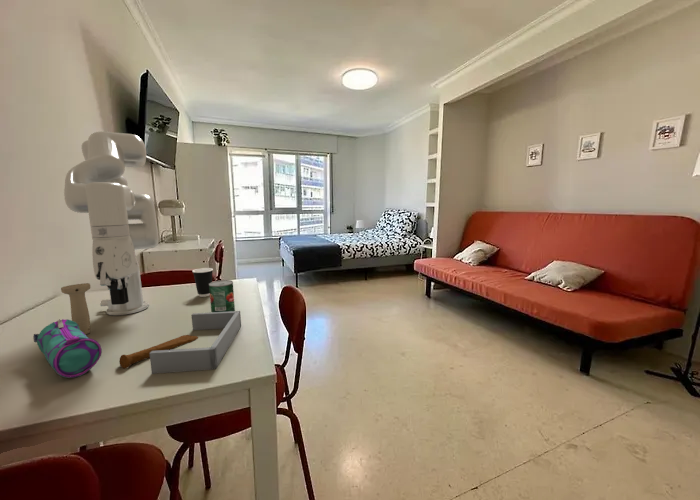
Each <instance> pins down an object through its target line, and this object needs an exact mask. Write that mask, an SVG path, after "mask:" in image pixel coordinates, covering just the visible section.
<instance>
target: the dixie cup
mask: <svg viewBox="0 0 700 500" xmlns="http://www.w3.org/2000/svg"><path fill="white" fill-rule="evenodd" d="M213 271H214V269H213V268H212V267H201V268H195V269H192V274H193V278H194V283H195V288H196V291H197V294H198V297H200V298H202V297H203V298H205V297H210V291H209V283H211V282H213Z"/></svg>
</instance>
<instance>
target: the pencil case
mask: <svg viewBox="0 0 700 500" xmlns="http://www.w3.org/2000/svg"><path fill="white" fill-rule="evenodd" d="M32 339H33V342H34V343H36V345H37V346H38V348H39V350H40V352H41V354H43V356H44V358H45V359H46V362H47V363H48V365H50V367H51V368H52V369H53V370H54V372H55V373H56V374H57V375H59V376H60V377H63V378H67V379H68V378H70V379H71V378H79V377H81V376H83V375H85V374H86V373H87V372H89V371H90V370H91V369H93V367H95V366H96V364H97V363H98V362H99V360H100V358H101V357H102V353H103V351H102V346H101V344H100V343H99V342H98V341H97V340H95V339H93V338H90V337H88V336H87V334H86V335H85V334H84V333H83V332H82V331H80V328H79V325H78V324H77V323H76V322H74V321H72V319H64V318H62V319H57V320H56V321H54V322H51V323H50V324H48V325H46V326H45V327H43V329H42V330H40V332H39V333H34V334H33V338H32Z"/></svg>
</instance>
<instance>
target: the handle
mask: <svg viewBox="0 0 700 500" xmlns="http://www.w3.org/2000/svg"><path fill="white" fill-rule="evenodd" d="M90 289H91V283H88V282H87V283H86V282H85V283H76V284H71V285H69V284H68V285H65V286H62V287H60V292H61V293H63V294H65V295H68V296H69V303H70V315H71V321H74V322H76V323H77V324H78V325H79V328H80V331H82V332H83V333H84V334H85V335H86V336H87V335H88V334H90V333H91V328H90V327H91V317H90V311H89V307H88V305H87V304H88V303H87V300H86V292H87V291H89V290H90Z"/></svg>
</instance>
